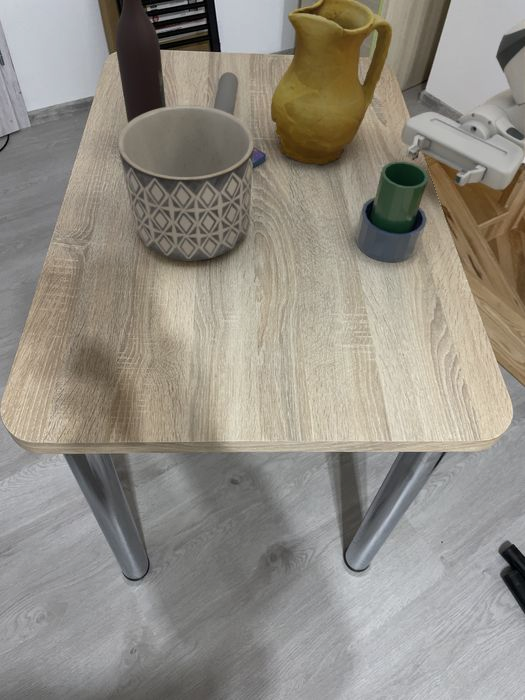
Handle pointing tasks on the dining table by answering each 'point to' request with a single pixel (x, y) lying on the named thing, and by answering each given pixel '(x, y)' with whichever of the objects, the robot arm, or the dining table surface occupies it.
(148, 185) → the planter
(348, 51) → the pitcher
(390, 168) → the slim cup
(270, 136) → the dining table surface
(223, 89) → the gray half cylinder
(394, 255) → the wide cup
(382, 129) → the dining table surface
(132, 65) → the wine bottle
